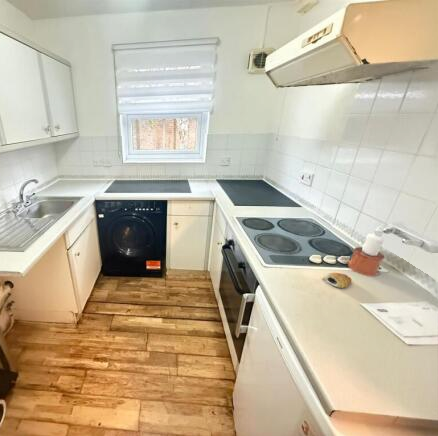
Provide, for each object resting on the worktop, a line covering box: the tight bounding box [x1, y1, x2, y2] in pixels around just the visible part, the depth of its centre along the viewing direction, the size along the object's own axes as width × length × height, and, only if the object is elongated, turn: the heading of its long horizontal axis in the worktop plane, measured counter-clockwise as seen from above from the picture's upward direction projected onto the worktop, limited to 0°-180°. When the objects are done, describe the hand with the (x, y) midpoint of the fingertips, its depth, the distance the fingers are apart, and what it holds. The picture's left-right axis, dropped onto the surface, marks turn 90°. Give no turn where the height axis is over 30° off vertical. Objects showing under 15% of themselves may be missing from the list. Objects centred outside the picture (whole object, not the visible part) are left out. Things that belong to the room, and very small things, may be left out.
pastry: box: [323, 272, 352, 289], centre depth 93 cm, size 9×7×4 cm
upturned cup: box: [347, 246, 385, 277], centre depth 100 cm, size 10×10×8 cm
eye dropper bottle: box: [362, 225, 384, 256], centre depth 96 cm, size 4×6×12 cm
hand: (393, 235), depth 95 cm, fingers open, 8 cm apart
